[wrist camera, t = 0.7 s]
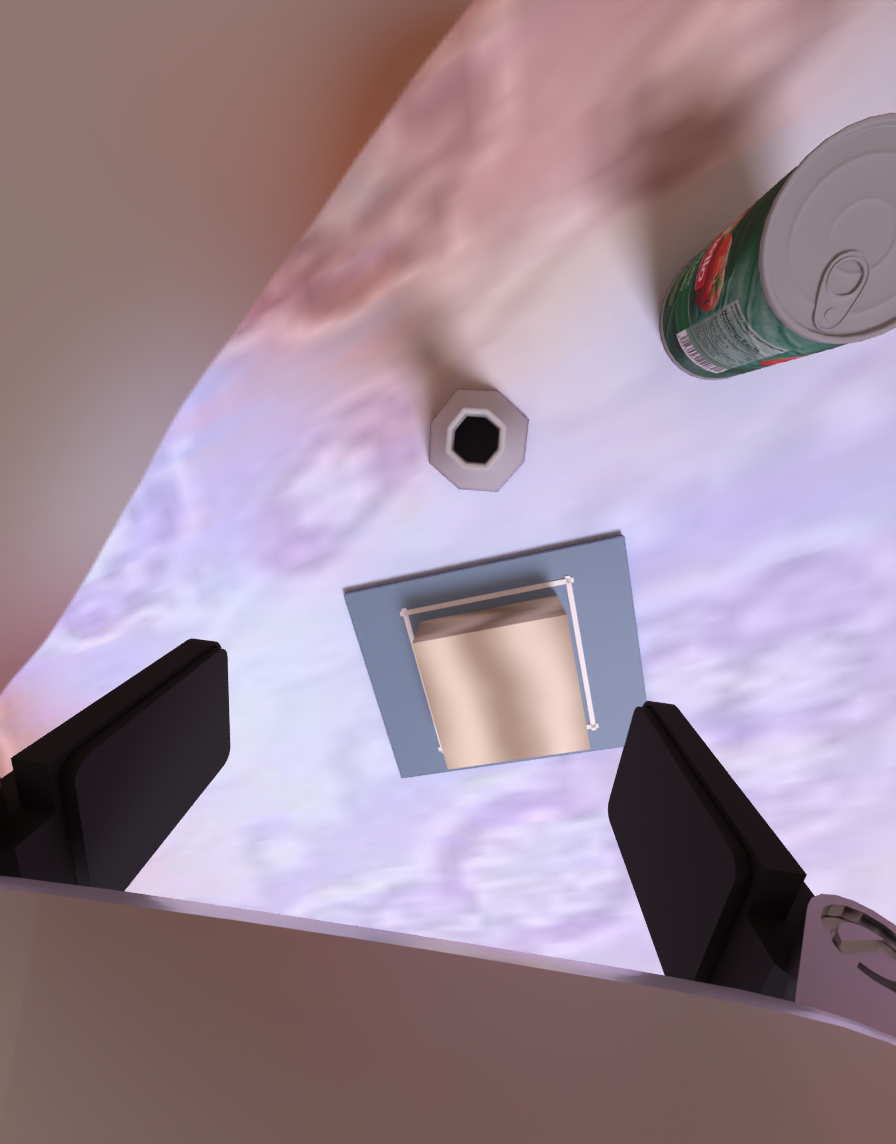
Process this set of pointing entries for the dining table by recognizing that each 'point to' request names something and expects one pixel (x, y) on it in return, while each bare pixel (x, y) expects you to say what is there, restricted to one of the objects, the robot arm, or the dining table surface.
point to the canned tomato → (795, 264)
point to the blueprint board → (574, 573)
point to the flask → (478, 440)
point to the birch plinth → (502, 683)
